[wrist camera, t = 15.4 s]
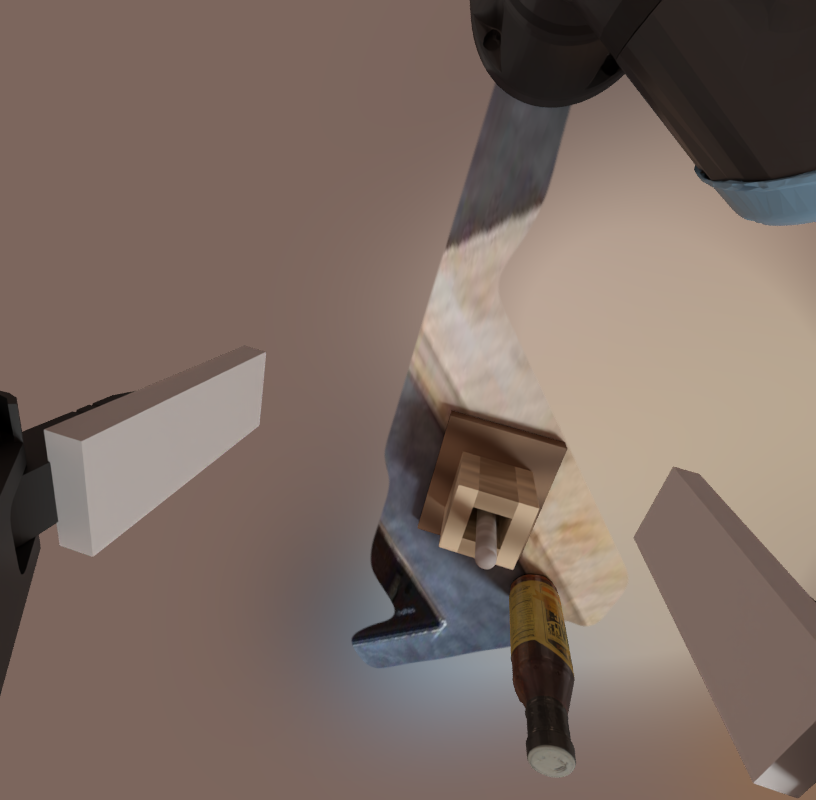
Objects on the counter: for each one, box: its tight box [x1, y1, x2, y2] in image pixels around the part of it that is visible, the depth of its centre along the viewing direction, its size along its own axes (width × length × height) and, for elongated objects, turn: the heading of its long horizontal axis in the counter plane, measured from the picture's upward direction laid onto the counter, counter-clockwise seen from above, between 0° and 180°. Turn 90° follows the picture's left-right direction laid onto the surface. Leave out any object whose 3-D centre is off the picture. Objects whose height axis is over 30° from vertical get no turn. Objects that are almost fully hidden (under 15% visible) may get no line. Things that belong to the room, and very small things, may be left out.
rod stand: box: [418, 411, 567, 569], centre depth 43 cm, size 16×13×14 cm
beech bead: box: [439, 452, 539, 570], centre depth 45 cm, size 8×8×7 cm
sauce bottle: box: [509, 574, 576, 777], centre depth 44 cm, size 7×6×20 cm
